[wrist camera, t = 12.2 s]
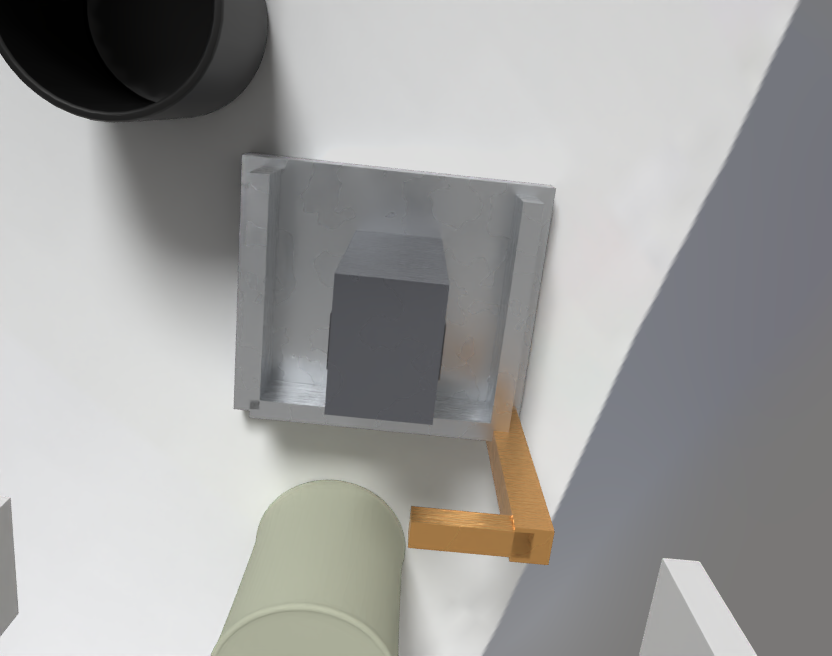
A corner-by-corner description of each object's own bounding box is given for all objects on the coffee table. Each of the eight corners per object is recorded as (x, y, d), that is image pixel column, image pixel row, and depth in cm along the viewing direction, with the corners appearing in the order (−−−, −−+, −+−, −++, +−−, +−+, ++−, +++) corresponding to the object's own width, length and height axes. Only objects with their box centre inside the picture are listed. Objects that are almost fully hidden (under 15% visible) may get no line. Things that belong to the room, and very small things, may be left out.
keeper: (239, 398, 42) (161, 528, 29) (248, 152, 38) (161, 179, 25) (512, 425, 43) (553, 565, 30) (550, 185, 39) (616, 227, 26)
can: (230, 564, 46) (167, 719, 34) (302, 452, 43) (260, 578, 32) (356, 629, 47) (336, 800, 36) (433, 524, 45) (438, 670, 33)
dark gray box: (345, 338, 40) (322, 414, 30) (354, 229, 38) (332, 272, 28) (431, 347, 40) (435, 425, 30) (443, 239, 38) (452, 285, 28)
